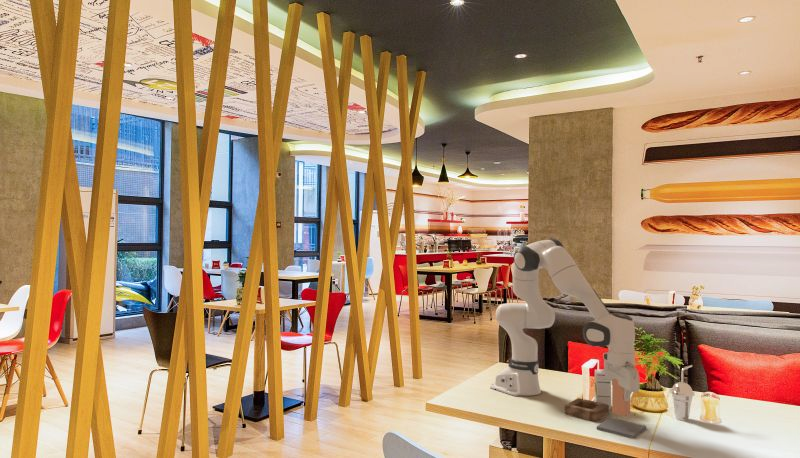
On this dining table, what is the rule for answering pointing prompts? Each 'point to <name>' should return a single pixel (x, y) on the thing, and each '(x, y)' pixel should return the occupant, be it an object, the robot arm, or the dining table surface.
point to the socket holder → (587, 409)
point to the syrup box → (602, 388)
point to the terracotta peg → (619, 400)
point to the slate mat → (621, 427)
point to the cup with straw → (682, 398)
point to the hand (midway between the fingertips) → (621, 397)
